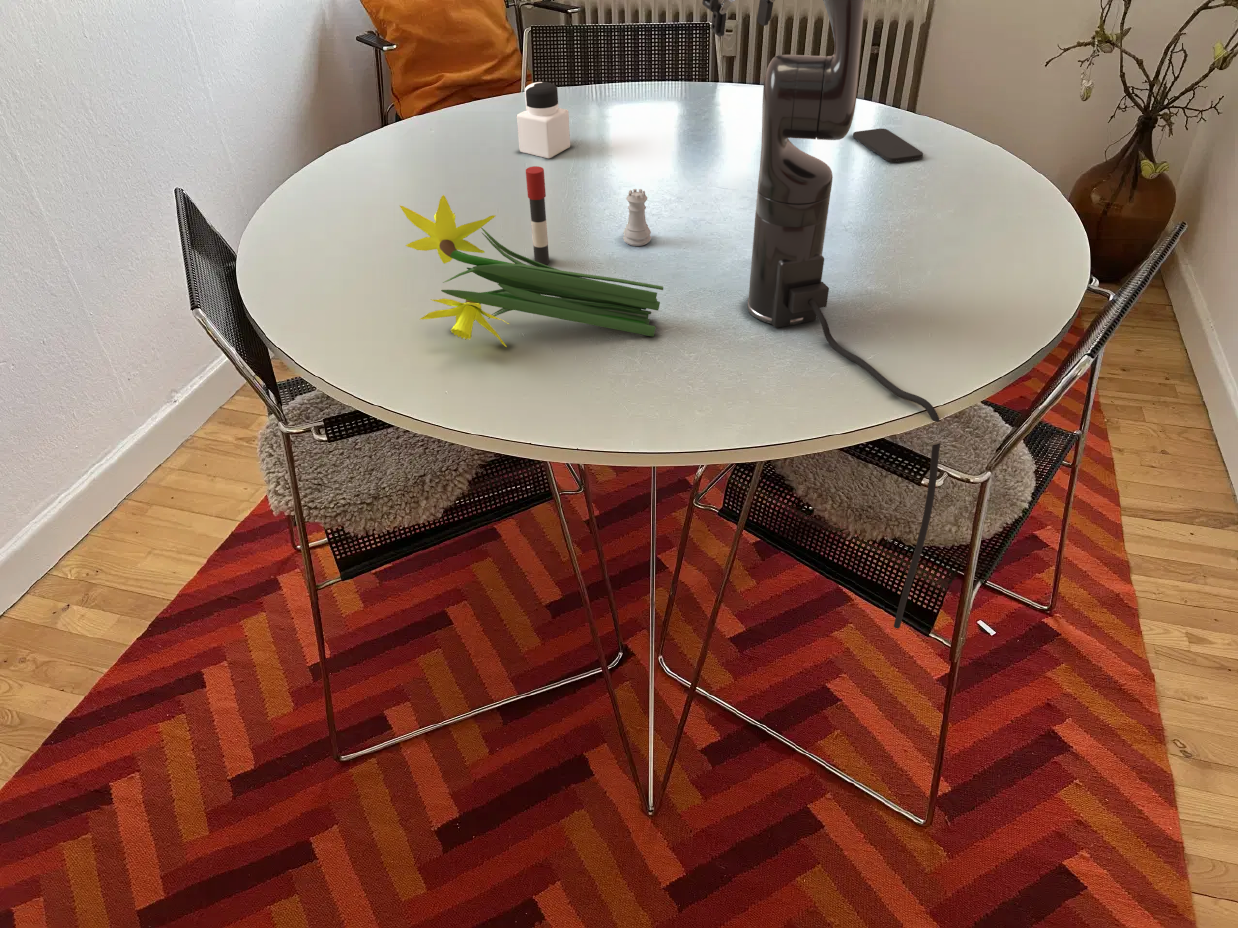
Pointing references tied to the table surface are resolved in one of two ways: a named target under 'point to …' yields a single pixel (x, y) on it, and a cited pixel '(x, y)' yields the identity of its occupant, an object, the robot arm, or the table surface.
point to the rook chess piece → (637, 220)
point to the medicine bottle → (543, 122)
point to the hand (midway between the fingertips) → (740, 29)
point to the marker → (538, 213)
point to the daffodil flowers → (528, 284)
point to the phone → (887, 145)
